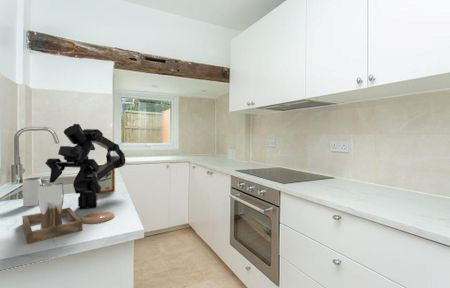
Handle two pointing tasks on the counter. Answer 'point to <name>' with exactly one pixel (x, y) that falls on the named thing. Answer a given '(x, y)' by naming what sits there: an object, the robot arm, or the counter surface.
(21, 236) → the counter surface
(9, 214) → the counter surface
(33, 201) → the can
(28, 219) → the wooden frame
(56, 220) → the silver metal cup
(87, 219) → the terracotta saucer
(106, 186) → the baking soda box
